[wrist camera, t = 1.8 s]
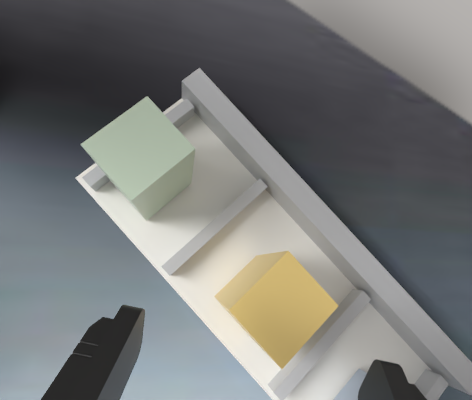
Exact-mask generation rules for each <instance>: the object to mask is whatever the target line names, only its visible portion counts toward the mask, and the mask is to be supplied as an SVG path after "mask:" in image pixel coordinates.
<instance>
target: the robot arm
mask: <svg viewBox="0 0 472 400" xmlns="http://www.w3.org/2000/svg"><path fill="white" fill-rule="evenodd" d="M144 317H145V309H142V308H137V307H132V306H127V305H122V306H121V308H120V309H119V311H118V313H117V314H116V316H115V318H114V319H110V318H105V317H102V318H101V319H100V320H98V321H97V322H96V323H94V324H93V325H92V326H90V327H89V328H88V330H87V331H86V333H85V334H84V336H83V337H82V339H81V340H80V343H78V345H77V346H76V348H75V349H74V351H73V354H72V355H70V357H69V358H68V360H67V361H66V363H65V364H64V366H63V367H62V369H61V370H60V372H59V373H58V375H57V376H56V378H55V379H54V381H53V382H52V384H51V385H50V387H49V388H48V390H47V391H46V393H45V394H44V396H43V397H42V399H41V400H120V397H121V395H122V393H123V391H124V388H125V386H126V384H127V381H128V379H129V377H130V374H131V372H132V370H133V368H134V365H135V363H136V361H137V358H138V355H139V352H140V348H141V344H142V336H143V327H144ZM358 400H427V399H426V398H425V397H424V395H423V394H422V393H421V392H420V390H419V389H418V388H417V387H416V385H415V384H410V383H408V380H407V378H406V376H405V373H404V371H403V369H402V367H401V366H400V365H399V364H396V363H391V362H387V361H382V360H377V359H376V360H374V361H373V362H372V364H371V366H370V368H369V370H368V372H367V374H366V376H365V378H364V380H363V382H362V384H361V386H360V389H359V392H358Z"/></svg>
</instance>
